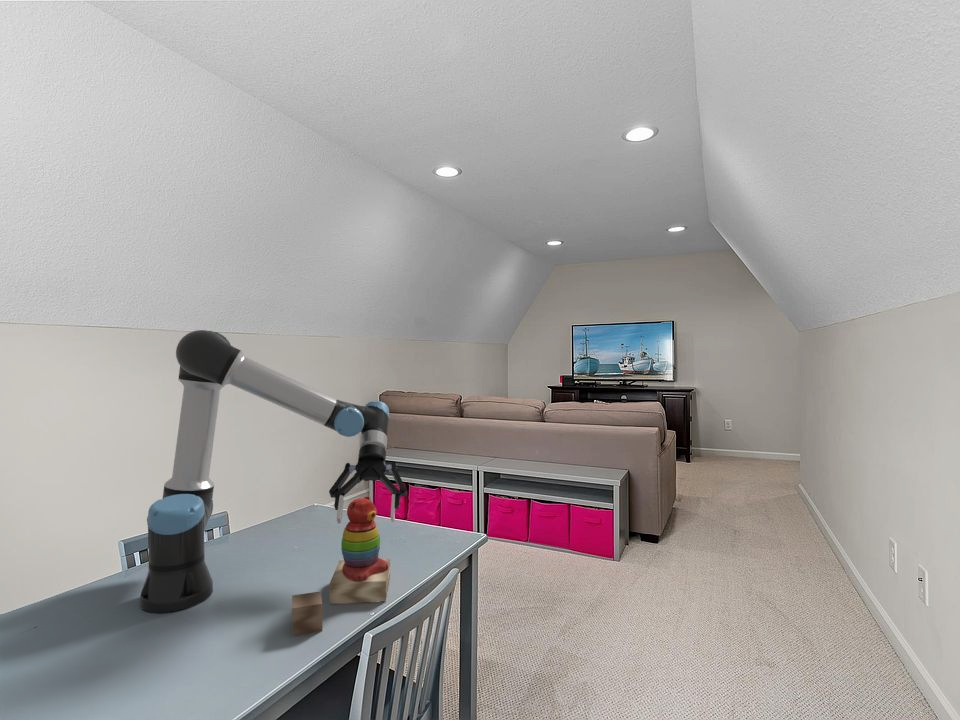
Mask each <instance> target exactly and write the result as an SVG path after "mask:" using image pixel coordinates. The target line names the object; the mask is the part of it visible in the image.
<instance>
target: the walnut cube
mask: <svg viewBox="0 0 960 720" xmlns="http://www.w3.org/2000/svg"><path fill="white" fill-rule="evenodd" d="M291 610H292V611H291V612H292V613H291V618H292V619H291V620H292V623H291V625H292V626H291V627H292V629H291V631H292V637H297V636H304V635H308V634H313V633H314V634H315V633H321V632H323V599H322V591H313V592H307V593H299V594H294V595H291Z"/></svg>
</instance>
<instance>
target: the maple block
mask: <svg viewBox="0 0 960 720" xmlns="http://www.w3.org/2000/svg"><path fill="white" fill-rule="evenodd" d="M382 559H383V560H385V561H386V562H387V563H388V569H387V570H385V571H383V572H377V573H374V574H372V575H370V576H369V577H368V578H367V579H366V580H363V581H353V580H350V579H348V578H347V577H345V576H344V574H343V572H342V568H343V565H344V563H345V562H344V559H343V560H340V559H339V560H338V563H337V566H336V568H335V570H334V572H333V575H332V576H331V580H330V581H329V605H341V604H343V605H344V604H345V605H346V604H363V603H362V602H371V603H377V602H376V601H386V602H387V599H386V598H387V597H388V593H387V592H389V588H388V587H389V586H390V582H391V558H382ZM389 581H390V582H389Z"/></svg>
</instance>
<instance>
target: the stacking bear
mask: <svg viewBox="0 0 960 720" xmlns="http://www.w3.org/2000/svg"><path fill="white" fill-rule="evenodd" d="M377 513H378V509H377V508H376V506H375V504H374V502H372V500H371V499H370V497H369V496H368V495H367V496H364V497H363V498H356V499H353V500H352V501H351V502H349V505H348V506H347V510H346V514H347V515H346V516H347V519H348V520H349V522H348V523H346V526H344V529H343V531H342V538H341V543H340V544H341V547H340V548H341V555H342V558H343V560H344V562H345V563H344V565H343V568H342V572H343V574H344V576H345V577H347V578H348V579H350V580H353V581H363V580H366V579H367V578H368V577H369V576H370V575H372V574H374V573H377V572H383V571H385V570H387V569H388V563H387V562H386V561H385V560H383V559H384V558H381V557H379V554H380V549H381V547H380V546H381V537H380V534H379V529H378V526H377V522H375V520H374V519H375V518H376V516H377Z"/></svg>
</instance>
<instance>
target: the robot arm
mask: <svg viewBox="0 0 960 720" xmlns="http://www.w3.org/2000/svg"><path fill="white" fill-rule="evenodd" d="M175 357H176V360H177V363H178V364H179V371H178V381H179V382H180V383H181V385H182V386H183V390H182V391H183V392H182V400H181V407H180V413H179V415H180V416H179V423H178V428H177V429H178V430H177V437H176V445H175V453H174V460H173V468H172V474H171V475H172V476H171V478H169V479H168V480H167V481H165V482H164V486H163V492H162V493H163V494H162V498H161V499H158V500H156V501H154V502H153V503H152V504H151V505H150V507H149V508H148V511H147V517H146V523H147V537H148V538H147V539H148V540H147V544H148V545H147V547H148V548H147V549H148V551H147V553H148V554H147V556H148V572H147V573H146V574H147V575H146V578H145V580H144V583H143V585H142V586H143V587H142V590H141V593H140V595H139V597H140V598H139V600H140V602H139V603H140V604H139V605H140V606H139V607H140V608H141V609H142V608H143V609H144V610H143V609H142V610H143V611H145V610H146V612H148V611H150V612H149V613H155V612H163V613H172V612H177V611H182V610H185V609H188V608H191V607H195V606H197V605H198V604H200V603H203V602H204V601H206V600H207V599H208V598H210V596H211V595H212V594H213V593H214V581H213V578H212V576H211V573H210V571H209V569H208V565H207V563H206V561H205V529H206V527H207V524H208V522H209V520H210V518H211V516H212V514H213V510H214V500H213V498H214V497H213V496H214V488H215V482H213V480H211V478H210V471H211V464H212V456H213V455H212V454H213V448H214V440H215V431H216V424H217V416H218V411H219V409H218V408H219V402H220V395H221V390H222V389H223V388H224V387H226V385H232V386H234V387H235V388H238V389H241V390H242V391H244V392H247V393H249V394H252V395H253V396H256V397H259V398H260V399H263V400H266V401H268V402H270V403H272V404H273V405H274V404H275V405H277V406H279V407H281V408H283V409H286V410H288V411H290V412H292V413H295V414H297V415H299V416H301V417H304V418H306V419H308V420H310V421H313V422H315V423H318V424H319V425H322V426H324V427H325V428H329V429H331V430H332V431H336V432H337V433H338V434H339V435H340V436H343V437H347V438H350V437H355V436H356V435H358V434H360V433H361V434H360V441H359V450H358V457H357V463H356V465H355V464H350V462H346V463H345V465H344V469H343V471H342V472H341V473H340V475H339V476H338V478H337V479H336V480H335V482H334V484H333V485H332V486H330V487H331V488H330V489H329V492H328V493H329V496H330V497H331V498H332V499H333V498H334V504H333V507H334V510H335V511H337V512H336V519H335V520H336V522H337V524H342V517H343V511H344V504H345V500H344V497H346V495H347V494H348V493H349V492H351V490H352V489H353V488H355V486H356V485H358V484H360V483H361V482H362V481H363V482H370V481H371V482H376V481H377V480H378V481H380V483H382V484H383V485H384V486H385V488H386V489H387V490H388V491H389V492H390V493H391V494H392V495H391V508H390V521H391V522H390V523H395V514H396V510H399V509H400V506H401V505H400V504H401V503H400V501H401V498H402V497H406V496H407V495H408V490H407V489H408V488H406V485H405V484H404V482H403V480H402V478H401V476H400V474H399V471H398V470H397V463H396V462H395V461H393V462H391V464H386V459H387V458H386V457H387V447H388V446H387V445H388V431H389V423H390V409H389V406H388V405H387V404H386V403H385V402H383V401H379V400H375V401H373V400H372V401H369V402H367V403H366V404H365V406H364V405H358V404H354V403H351V402H347V401H343V400H339V399H336V398H334V397H332V396H330V395H327V394H325V393H323V392H321V391H319V390H317V389H315V388H313V387H310V386H309V385H306V384H304V383H302V382H300V381H299V380H296V379H293V378H291V377H289V376H288V375H287V376H286V375H285V374H283V373H281V372H278V371H277V370H275V369H272V368H270V367H267V366H265V365H263V364H261V363H259V362H257V361H255V360H254V359H253V360H252V359H251V358H248V357H246V356H245V355H244V351H243V350H242V349H239V348H236V347H235V346H233V345H232V344H231V342H230V341H229V340H228V339H227V337H226V336H224V335H223V334H221V333H220V332H218V331H212V330H206V329H204V330H203V329H199V330H198V329H197V330H193V331H190V332H188V333H187V334H185V335H184V336H183V337H182V338H181V339H180V340H179V341H178V343H177V345H176V348H175ZM354 471H355V473H354V474H353V476H352V477H350V475H351V474H352V473H353V472H354ZM386 471H389V472H388V473H391V474H392V477H393V479H394V480H395V483H396V485H397V487H398V488H397V487H396V486H395V485H394V483H393V482H392V481H391V480H390V478H388V476H386V475H385V472H386ZM349 477H350V479H349ZM348 479H349V480H348ZM347 480H348V481H347ZM346 481H347V482H346ZM171 611H172V612H171Z"/></svg>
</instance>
